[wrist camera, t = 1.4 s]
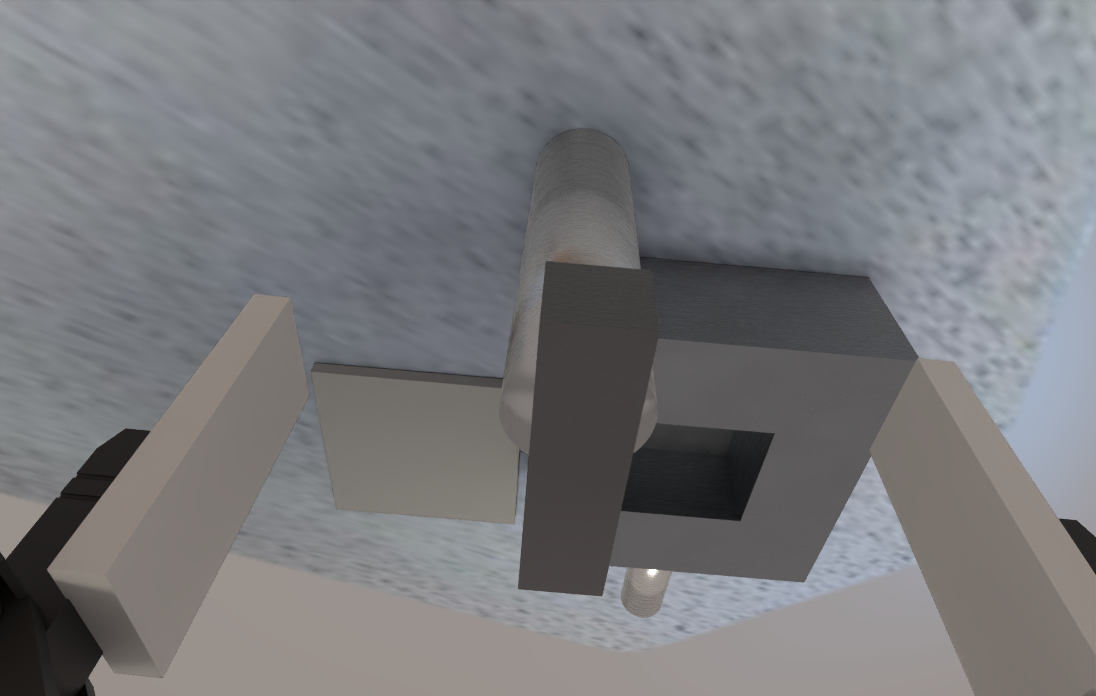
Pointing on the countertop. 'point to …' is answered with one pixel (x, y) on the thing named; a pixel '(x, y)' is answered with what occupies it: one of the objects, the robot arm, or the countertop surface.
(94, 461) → the robot arm
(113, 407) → the countertop surface
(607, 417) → the chuck key
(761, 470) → the block
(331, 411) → the mat
